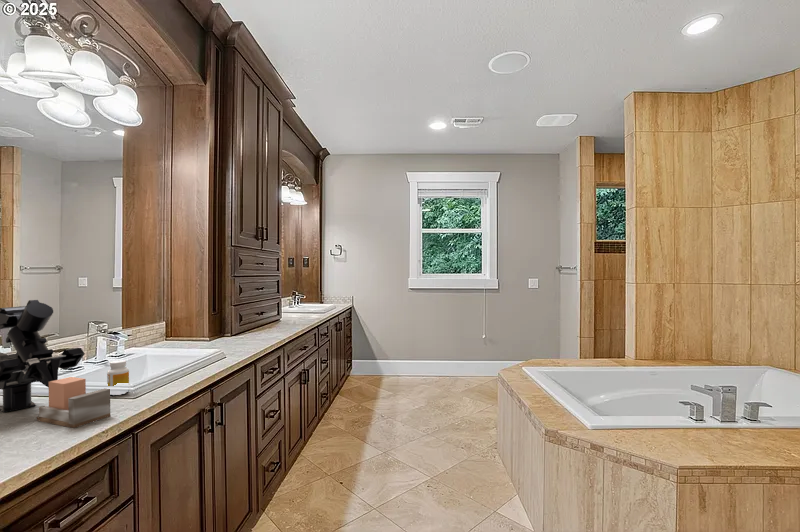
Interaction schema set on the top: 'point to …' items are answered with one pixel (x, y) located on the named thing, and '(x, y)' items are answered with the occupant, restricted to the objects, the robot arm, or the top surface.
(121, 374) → the supplement bottle
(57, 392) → the peach knobbed cube
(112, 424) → the top surface
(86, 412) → the rail
